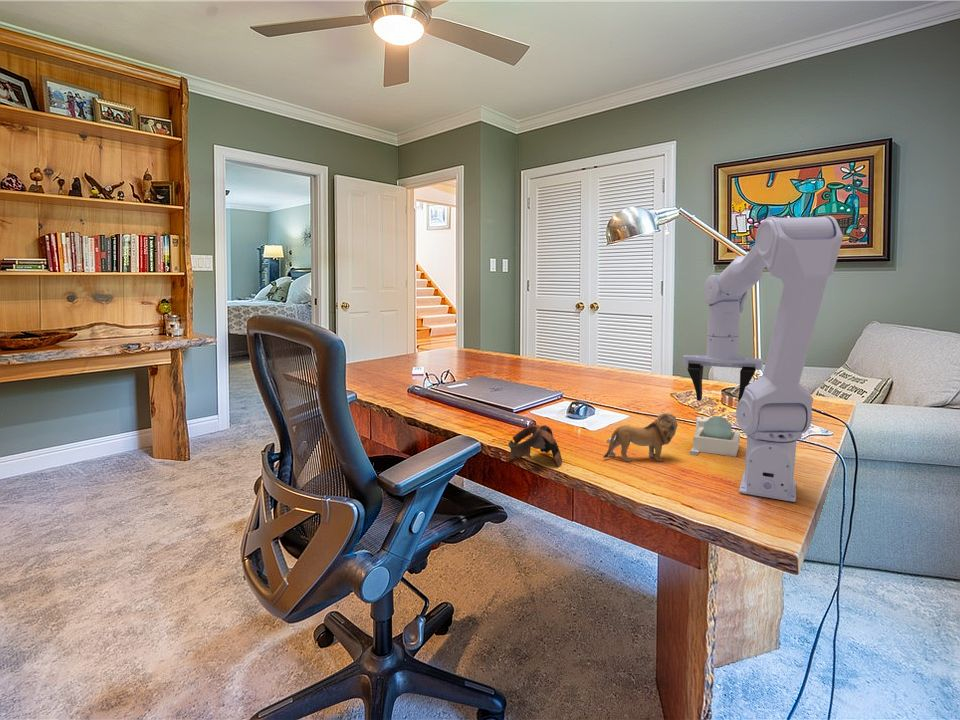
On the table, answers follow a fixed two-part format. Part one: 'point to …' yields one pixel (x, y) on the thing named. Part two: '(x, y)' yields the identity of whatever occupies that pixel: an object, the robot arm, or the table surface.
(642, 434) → the lion figurine
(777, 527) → the table surface
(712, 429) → the dome plunger
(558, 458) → the brown twisted loop
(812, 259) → the robot arm
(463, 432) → the table surface
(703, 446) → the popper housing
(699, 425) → the die
